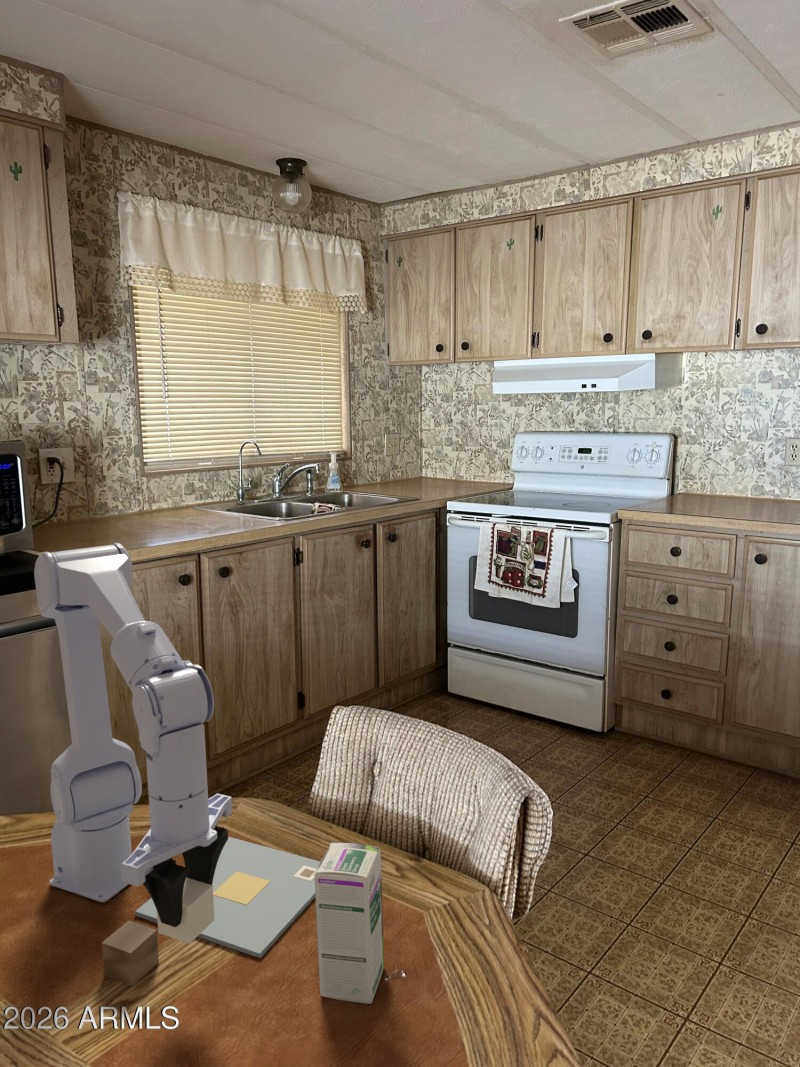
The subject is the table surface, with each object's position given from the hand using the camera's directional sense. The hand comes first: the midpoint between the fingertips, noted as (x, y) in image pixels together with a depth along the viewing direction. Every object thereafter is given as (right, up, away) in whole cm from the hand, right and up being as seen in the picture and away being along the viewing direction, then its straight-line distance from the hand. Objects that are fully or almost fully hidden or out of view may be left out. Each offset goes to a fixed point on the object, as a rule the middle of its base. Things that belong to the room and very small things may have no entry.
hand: (185, 909), depth 82 cm
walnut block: (-7, -9, +5) cm, 12 cm away
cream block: (0, -2, 0) cm, 2 cm away
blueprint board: (+2, -6, +18) cm, 19 cm away
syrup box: (+17, -9, +3) cm, 20 cm away
